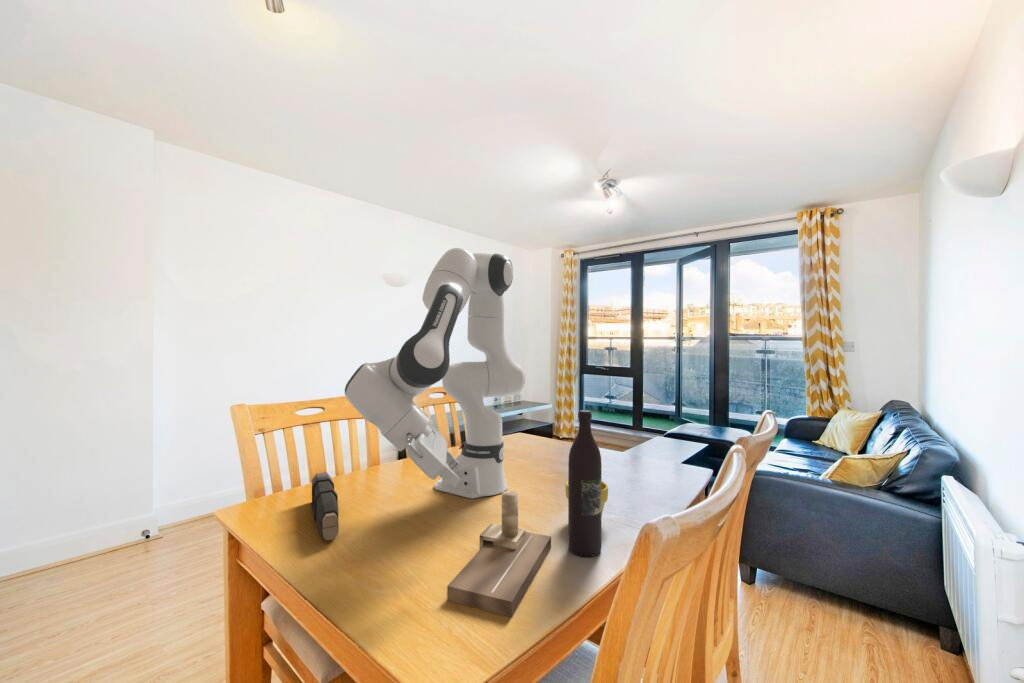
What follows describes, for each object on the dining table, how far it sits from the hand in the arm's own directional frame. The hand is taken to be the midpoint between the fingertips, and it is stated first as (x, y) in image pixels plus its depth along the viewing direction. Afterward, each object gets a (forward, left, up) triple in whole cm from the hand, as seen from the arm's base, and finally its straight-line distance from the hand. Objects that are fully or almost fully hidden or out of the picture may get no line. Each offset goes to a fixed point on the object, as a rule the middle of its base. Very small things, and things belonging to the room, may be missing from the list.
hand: (457, 474), depth 85 cm
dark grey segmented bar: (-39, +3, -17) cm, 43 cm away
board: (+11, -2, -17) cm, 21 cm away
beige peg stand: (+8, +5, -17) cm, 19 cm away
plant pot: (+22, +25, -17) cm, 38 cm away
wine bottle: (+24, +12, -17) cm, 32 cm away
